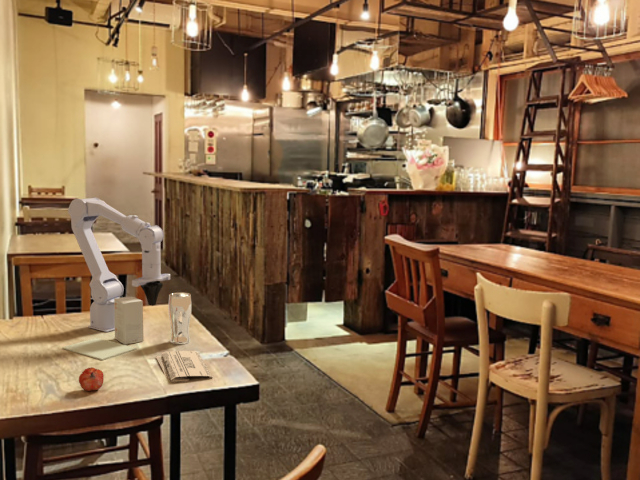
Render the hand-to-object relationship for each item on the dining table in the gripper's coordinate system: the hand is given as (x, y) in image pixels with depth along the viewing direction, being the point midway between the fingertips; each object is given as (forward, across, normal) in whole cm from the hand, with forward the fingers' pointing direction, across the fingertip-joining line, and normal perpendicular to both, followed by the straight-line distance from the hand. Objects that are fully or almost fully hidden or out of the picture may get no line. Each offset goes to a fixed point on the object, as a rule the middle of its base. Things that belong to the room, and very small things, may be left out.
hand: (152, 304), depth 188 cm
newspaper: (+10, -18, -31) cm, 37 cm away
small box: (+10, -10, 0) cm, 14 cm away
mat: (+9, -20, 0) cm, 23 cm away
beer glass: (+10, -2, -14) cm, 17 cm away
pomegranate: (+10, -42, -24) cm, 49 cm away
